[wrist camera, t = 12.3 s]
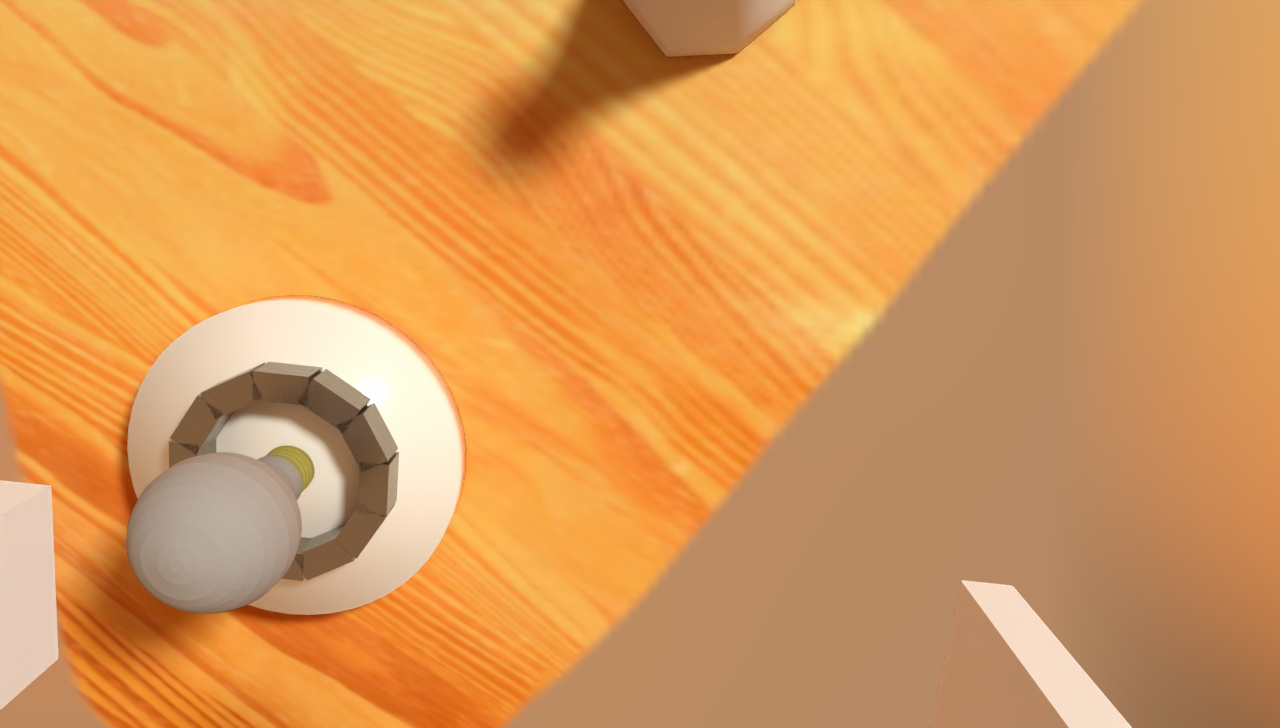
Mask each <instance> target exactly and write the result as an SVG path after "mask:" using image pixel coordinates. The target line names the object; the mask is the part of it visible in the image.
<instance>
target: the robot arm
mask: <svg viewBox="0 0 1280 728" xmlns="http://www.w3.org/2000/svg"><path fill="white" fill-rule="evenodd" d="M57 659H58V637H57V613H56V589H55V565H54V541H53V518H52V494H51V486H49V485H40V484H30V483H21V482H11V481H1V480H0V710H1V709H2V708H3V707H4V706H5V705H6V704H7V703H9V702H10V701H11V700H12V699H13V698H14V697H15V696H17V695H18V694H19V693H20V692H21V691H22V690H23V689H24V688H26V687H27V686H28V685H29V684H30V683H31V682H32V681H33V680H35V679H36V678H37V677H38V676H39V675H40V674H41V673H43V672H44V671H45V670H46V669H47V668H48V667H49V666H50V665H52V664H53V663H54V662H55V661H56V660H57ZM930 728H1132V727H1131V726H1130V725H1129V724H1128V723H1127V721H1126V720H1125V719H1124V718H1123V716H1122V715H1121V714H1120V713H1119V712H1118V711H1117V710H1116V708H1115V707H1114V706H1113V705H1112V703H1111V702H1110V701H1109V700H1108V699H1107V697H1106V696H1105V695H1104V694H1103V693H1102V692H1101V690H1100V689H1099V688H1098V687H1097V686H1096V684H1095V683H1094V682H1093V681H1092V680H1091V678H1090V677H1089V676H1088V675H1087V674H1086V672H1085V671H1084V670H1083V669H1082V668H1081V667H1080V666H1079V664H1078V663H1077V662H1076V661H1075V659H1074V658H1073V657H1072V656H1071V655H1070V653H1069V652H1068V651H1067V650H1066V649H1065V647H1064V646H1063V645H1062V644H1061V643H1060V642H1059V640H1058V639H1057V638H1056V637H1055V636H1054V634H1052V632H1051V631H1050V630H1049V629H1048V628H1047V626H1046V625H1045V624H1044V622H1043V621H1042V620H1041V619H1040V618H1039V617H1038V615H1037V614H1036V613H1035V612H1034V611H1033V609H1032V608H1031V607H1030V606H1029V605H1028V603H1027V602H1026V601H1025V600H1024V599H1023V598H1022V596H1021V595H1020V594H1019V593H1018V592H1017V590H1016V589H1015V588H1014V587H1013V586H1011V585H1002V584H992V583H982V582H973V581H963V580H961V582H960V587H959V591H958V596H957V601H956V605H955V610H954V615H953V620H952V624H951V629H950V634H949V638H948V643H947V648H946V653H945V657H944V662H943V667H942V671H941V676H940V681H939V686H938V691H937V695H936V700H935V704H934V709H933V714H932V719H931V724H930Z"/></svg>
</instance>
